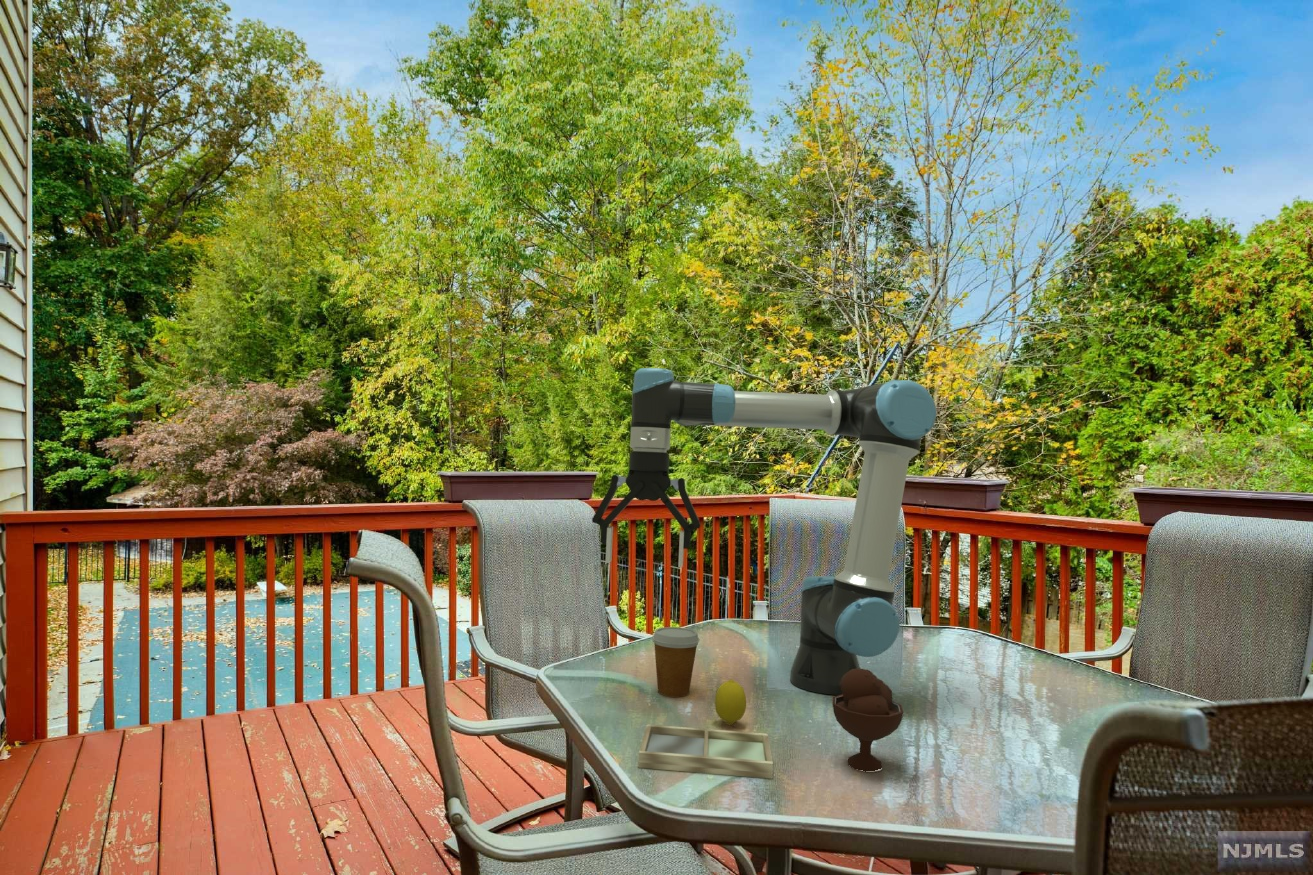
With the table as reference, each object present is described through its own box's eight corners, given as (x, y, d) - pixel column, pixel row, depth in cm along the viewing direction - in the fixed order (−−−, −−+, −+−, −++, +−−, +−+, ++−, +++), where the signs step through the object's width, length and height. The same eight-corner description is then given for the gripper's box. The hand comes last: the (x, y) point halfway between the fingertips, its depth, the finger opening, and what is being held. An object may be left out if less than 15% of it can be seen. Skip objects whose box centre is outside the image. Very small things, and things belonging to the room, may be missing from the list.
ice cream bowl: (892, 786, 107) (896, 683, 108) (819, 766, 113) (822, 669, 114) (909, 763, 116) (912, 668, 117) (840, 745, 122) (844, 655, 123)
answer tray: (767, 747, 120) (767, 733, 120) (772, 778, 108) (772, 763, 108) (646, 737, 122) (646, 724, 122) (638, 767, 110) (638, 752, 110)
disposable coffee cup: (693, 702, 141) (696, 639, 141) (645, 696, 143) (648, 635, 143) (700, 687, 150) (702, 629, 151) (654, 682, 152) (657, 624, 153)
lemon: (711, 719, 132) (713, 674, 132) (741, 719, 133) (743, 675, 133) (716, 730, 127) (718, 683, 127) (748, 730, 127) (750, 684, 127)
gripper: (580, 447, 135) (574, 562, 134) (716, 453, 133) (710, 571, 132) (588, 448, 142) (582, 557, 142) (716, 454, 140) (711, 565, 140)
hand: (644, 564), depth 137 cm, fingers open, 13 cm apart
